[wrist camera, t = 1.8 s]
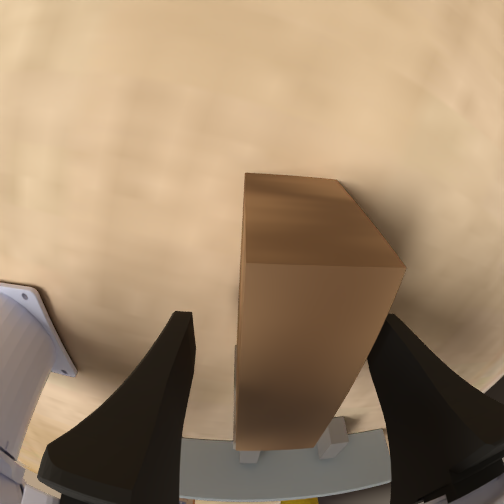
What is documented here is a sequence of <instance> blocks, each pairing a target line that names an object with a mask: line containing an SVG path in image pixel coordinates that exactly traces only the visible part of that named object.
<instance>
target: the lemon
mask: <svg viewBox="0 0 504 504" xmlns="http://www.w3.org/2000/svg"><path fill="white" fill-rule="evenodd" d="M281 504H318V499H317V497H314V498H306V499H296V500H284V501H281Z"/></svg>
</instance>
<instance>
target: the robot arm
mask: <svg viewBox="0 0 504 504" xmlns="http://www.w3.org/2000/svg"><path fill="white" fill-rule="evenodd" d="M195 353H196V345H195V336H194V327H193V317H192V312H181V311H175V312H174V313H173V314H172V316H171V318H170V319H169V321H168V323H167V324H166V326H165V328H164V329H163V331H162V332H161V334H160V335H159V337H158V339H157V340H156V341H155V343H154V344H153V346H152V347H151V349H150V350H149V351H148V353H147V354H146V356H145V357H144V358H143V359H142V361H141V362H140V363H139V365H138V366H137V367H136V368H135V370H134V371H133V372H132V373H131V375H130V376H129V377H128V378H127V379H126V380H125V381H124V383H123V384H122V385H121V386H120V387H119V388H118V389H117V390H116V391H115V392H114V393H113V394H112V395H111V396H110V397H109V398H108V399H107V400H106V401H105V402H104V403H103V404H102V405H101V406H100V407H99V408H97V409H96V410H95V411H94V412H93V413H92V414H90V415H89V416H88V417H87V418H85V419H84V420H83V421H82V422H80V423H79V424H78V425H76V426H75V427H74V428H72V429H71V430H70V431H68V432H67V433H65V434H63V435H62V436H60V437H59V438H57V439H56V440H54V441H53V442H51V443H49V444H48V445H47V447H46V450H45V452H44V454H43V457H42V460H41V464H40V468H39V471H38V475H37V478H38V480H39V481H40V482H42V483H44V484H45V485H47V486H49V487H50V488H52V489H54V490H56V491H58V492H60V493H62V494H61V499H58V498H56V497H54V496H52V495H49V494H47V493H45V492H43V491H40V490H38V489H36V488H34V487H32V486H30V485H28V484H26V482H25V480H24V479H23V476H24V472H25V469H24V468H23V467H21V466H20V465H18V464H17V463H16V462H14V461H17V458H18V455H19V452H20V449H21V446H22V443H23V440H24V437H25V434H26V431H27V428H28V426H29V423H30V420H31V417H32V415H33V412H34V410H35V407H36V405H37V402H38V400H39V397H40V395H41V392H42V390H43V388H44V385H45V383H46V381H47V378H48V376H49V374H50V372H54V373H58V374H62V375H66V376H70V377H76V375H77V370H76V368H75V366H74V365H73V363H72V361H71V359H70V357H69V356H68V354H67V352H66V350H65V348H64V346H63V344H62V342H61V340H60V338H59V336H58V334H57V332H56V330H55V328H54V326H53V324H52V322H51V320H50V318H49V315H48V313H47V311H46V309H45V306H44V304H43V302H42V299H41V297H40V295H39V293H38V291H37V290H36V289H35V288H33V287H28V286H21V285H14V284H7V283H1V282H0V504H179V483H180V458H181V443H182V431H183V424H184V418H185V413H186V408H187V403H188V398H189V393H190V388H191V383H192V379H193V374H194V364H195ZM367 360H368V365H369V370H370V373H371V377H372V380H373V383H374V386H375V389H376V392H377V395H378V398H379V402H380V405H381V408H382V411H383V415H384V419H385V423H386V428H387V434H388V441H389V449H390V459H391V500H390V504H418V503H421V502H424V504H504V462H503V461H502V458H503V457H504V405H503V404H501V403H499V402H498V401H496V400H494V399H492V398H490V397H488V396H487V395H485V394H484V393H482V392H481V391H479V390H478V389H476V388H475V387H473V386H472V385H470V384H469V383H468V382H466V381H465V380H464V379H462V378H461V377H460V376H459V375H457V374H456V373H455V372H454V371H452V370H451V369H450V368H449V367H448V366H447V365H446V364H445V363H443V362H442V361H441V360H440V359H439V358H438V357H437V356H436V355H435V354H434V353H433V352H432V351H431V350H430V349H429V348H428V347H427V346H426V345H425V344H424V343H423V342H422V341H421V340H420V339H419V338H418V337H417V336H416V335H415V334H414V333H413V332H412V331H411V330H410V329H409V328H408V327H407V326H406V325H405V324H404V323H403V322H402V321H401V320H400V319H399V318H398V317H397V316H396V315H395V314H388V315H387V317H386V319H385V321H384V324H383V326H382V328H381V330H380V332H379V334H378V337H377V339H376V341H375V343H374V345H373V347H372V349H371V351H370V353H369V355H368V357H367Z"/></svg>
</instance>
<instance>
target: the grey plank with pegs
mask: <svg viewBox="0 0 504 504" xmlns="http://www.w3.org/2000/svg"><path fill="white" fill-rule="evenodd" d="M389 482H391V459H390V455H389V451H388V447H387V444H386V440H385V436H384V433H383V429H378V430H373V431H367V432H361V433H355V434H347V430H346V425H345V421H344V417H336V418H333V419H332V420H331V422H330V423H329V425H328V427H327V428H326V430H325V431H324V433H323V434H322V436H321V437H320V439H319V441H318V442H317V444H316V445H315V447H314V448H306V449H292V450H270V451H236V449H233V441H217V440H201V439H189V438H182V443H181V458H180V483H179V498H185V499H195V500H207V501H226V502H265V501H284V500H296V499H306V498H314V497H321V496H328V495H334V494H341V493H346V492H351V491H356V490H361V489H365V488H369V487H373V486H378V485H382V484H386V483H389Z"/></svg>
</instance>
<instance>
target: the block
mask: <svg viewBox="0 0 504 504" xmlns="http://www.w3.org/2000/svg"><path fill="white" fill-rule="evenodd" d="M405 271H406V266H405V265H404V264H403V262H402V261H401V260H400V258H399V257H398V255H397V254H396V253H395V251H394V250H393V249H392V247H391V246H390V245H389V243H388V242H387V241H386V239H385V238H384V237H383V236H382V234H381V233H380V232H379V230H378V229H377V228H376V227H375V225H374V224H373V223H372V222H371V220H370V219H369V218H368V217H367V215H366V214H365V213H364V212H363V211H362V209H361V208H360V207H359V206H358V204H357V203H356V202H355V201H354V200H353V199H352V197H351V196H350V195H349V194H348V193H347V191H346V190H345V189H344V188H343V187H342V186H341V185H340V183H339V182H338V181H337V180H333V179H323V178H312V177H301V176H288V175H273V174H256V173H245V183H244V202H243V221H242V241H241V261H240V283H239V305H238V329H237V345H235V364H234V428H233V449H236V451H270V450H292V449H306V448H314V447H315V445H316V444H317V442H318V441H319V439H320V437H321V436H322V434H323V433H324V431H325V430H326V428H327V427H328V425H329V423H330V422H331V420H332V419H333V417H334V415H335V414H336V412H337V411H338V409H339V407H340V406H341V404H342V402H343V401H344V399H345V397H346V395H347V394H348V392H349V390H350V388H351V387H352V385H353V383H354V381H355V379H356V378H357V376H358V374H359V372H360V370H361V368H362V366H363V365H364V363H365V361H366V359H367V357H368V355H369V353H370V351H371V349H372V347H373V345H374V343H375V341H376V339H377V337H378V334H379V332H380V330H381V328H382V326H383V324H384V321H385V319H386V317H387V315H388V312H389V310H390V308H391V306H392V303H393V301H394V298H395V296H396V294H397V291H398V289H399V286H400V284H401V281H402V279H403V276H404V273H405Z"/></svg>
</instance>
